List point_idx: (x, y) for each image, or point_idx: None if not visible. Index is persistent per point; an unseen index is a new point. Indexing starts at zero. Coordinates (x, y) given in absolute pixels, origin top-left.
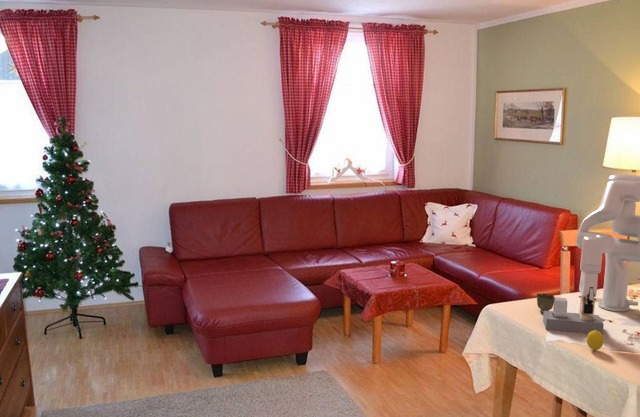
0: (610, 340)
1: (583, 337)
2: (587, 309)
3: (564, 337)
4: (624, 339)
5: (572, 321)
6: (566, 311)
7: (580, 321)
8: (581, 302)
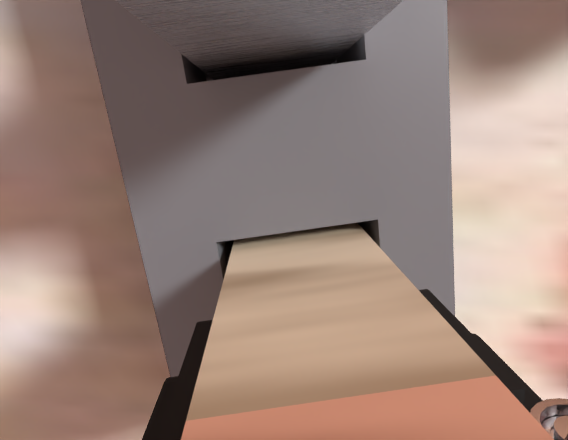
0: (139, 419)
1: (101, 238)
2: (158, 413)
3: (7, 74)
4: None
5: (117, 149)
6: (176, 44)
7: (154, 243)
8: (339, 360)
